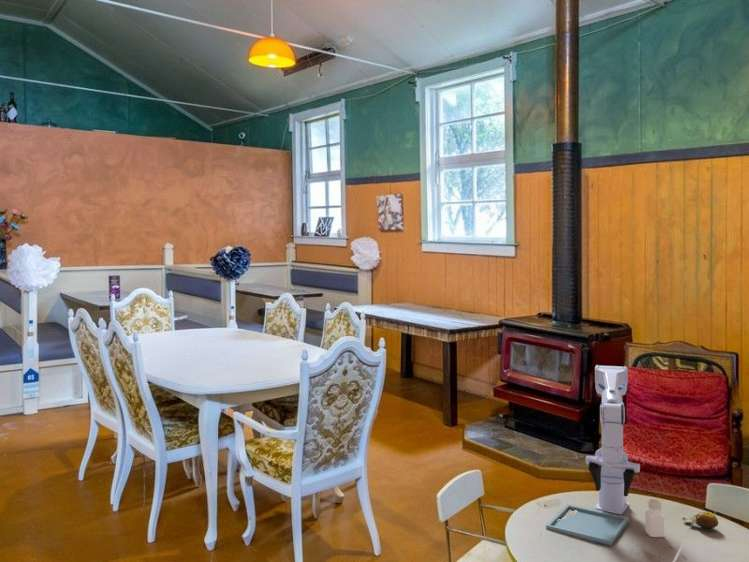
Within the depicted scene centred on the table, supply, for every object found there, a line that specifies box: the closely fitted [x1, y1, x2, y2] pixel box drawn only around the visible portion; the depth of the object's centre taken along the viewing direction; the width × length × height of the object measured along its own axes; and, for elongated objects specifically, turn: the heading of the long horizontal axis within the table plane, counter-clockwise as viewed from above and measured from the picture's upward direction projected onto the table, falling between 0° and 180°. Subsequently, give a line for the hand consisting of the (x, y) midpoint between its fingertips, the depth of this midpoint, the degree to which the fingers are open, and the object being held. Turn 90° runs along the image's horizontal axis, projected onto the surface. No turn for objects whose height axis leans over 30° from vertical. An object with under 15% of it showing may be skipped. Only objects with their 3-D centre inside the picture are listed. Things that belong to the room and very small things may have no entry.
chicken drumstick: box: [682, 511, 719, 530], centre depth 183 cm, size 8×8×4 cm
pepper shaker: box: [644, 498, 665, 538], centre depth 177 cm, size 4×4×10 cm
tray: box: [545, 504, 629, 547], centre depth 183 cm, size 18×18×2 cm
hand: (612, 492), depth 181 cm, fingers open, 7 cm apart
